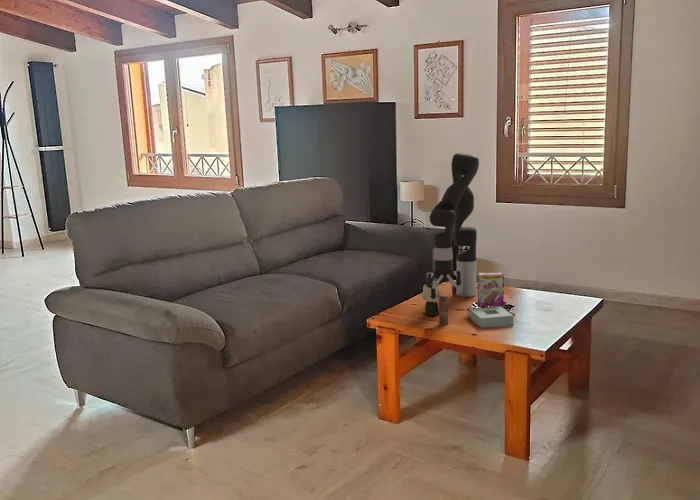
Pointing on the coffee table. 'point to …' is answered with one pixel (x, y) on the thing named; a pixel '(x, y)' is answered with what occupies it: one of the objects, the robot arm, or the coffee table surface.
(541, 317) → the coffee table surface
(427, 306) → the character mug
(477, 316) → the socket
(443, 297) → the peg
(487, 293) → the candy bar box
